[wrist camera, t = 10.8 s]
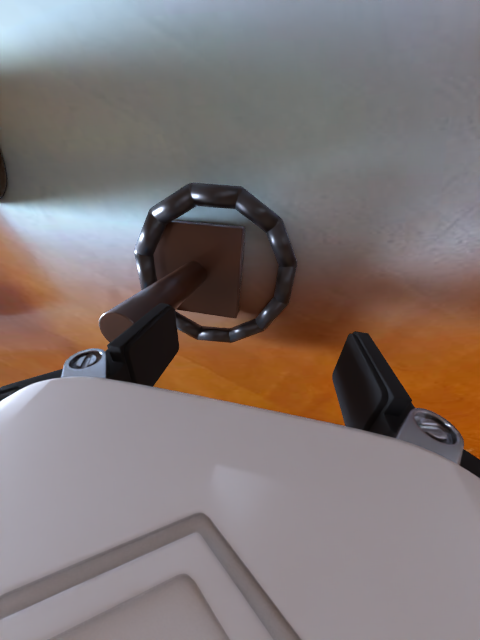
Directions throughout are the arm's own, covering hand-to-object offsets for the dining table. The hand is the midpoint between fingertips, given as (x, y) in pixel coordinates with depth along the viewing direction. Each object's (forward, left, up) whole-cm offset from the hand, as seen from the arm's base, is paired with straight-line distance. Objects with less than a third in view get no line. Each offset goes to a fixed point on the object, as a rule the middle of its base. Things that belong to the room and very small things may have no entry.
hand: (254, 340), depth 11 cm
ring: (0, -5, -10) cm, 11 cm away
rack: (0, -7, -11) cm, 13 cm away
